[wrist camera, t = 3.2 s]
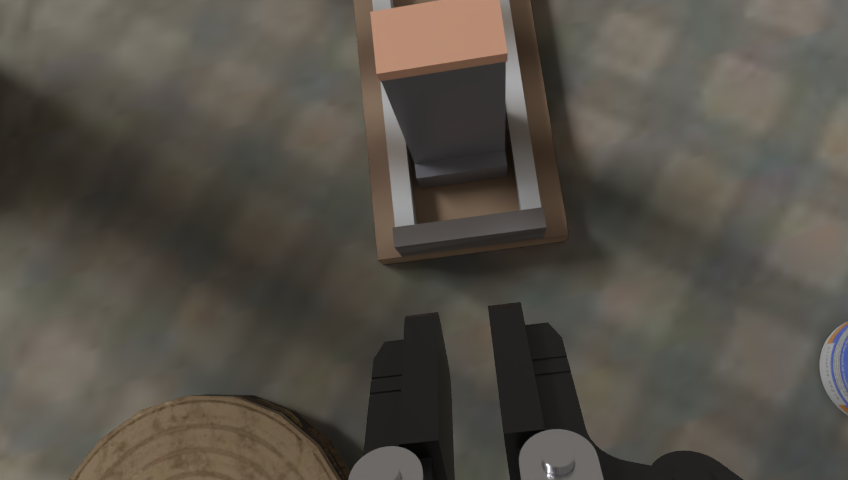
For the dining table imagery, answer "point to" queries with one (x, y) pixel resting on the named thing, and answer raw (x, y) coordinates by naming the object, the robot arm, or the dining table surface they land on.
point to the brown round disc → (214, 444)
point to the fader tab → (446, 86)
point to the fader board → (471, 201)
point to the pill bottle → (836, 367)
